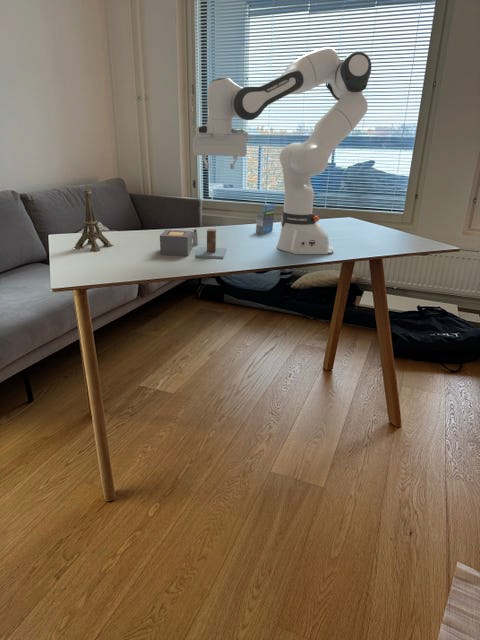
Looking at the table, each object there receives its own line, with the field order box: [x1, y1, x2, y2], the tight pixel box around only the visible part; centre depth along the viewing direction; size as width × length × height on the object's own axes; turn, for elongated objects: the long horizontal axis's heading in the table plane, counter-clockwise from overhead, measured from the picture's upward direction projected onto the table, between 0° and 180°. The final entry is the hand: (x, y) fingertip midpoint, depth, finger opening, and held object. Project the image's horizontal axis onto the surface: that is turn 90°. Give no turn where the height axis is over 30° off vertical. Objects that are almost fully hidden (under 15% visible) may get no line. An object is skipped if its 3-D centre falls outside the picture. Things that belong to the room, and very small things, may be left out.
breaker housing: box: [159, 229, 193, 257], centre depth 158 cm, size 10×10×7 cm
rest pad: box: [195, 246, 227, 259], centre depth 158 cm, size 10×12×1 cm
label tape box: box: [255, 203, 275, 234], centre depth 194 cm, size 9×4×12 cm, turn 144°
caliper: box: [192, 228, 199, 246], centre depth 177 cm, size 20×1×6 cm, turn 22°
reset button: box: [168, 232, 184, 236], centre depth 157 cm, size 5×5×3 cm
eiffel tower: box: [73, 179, 114, 253], centre depth 156 cm, size 11×11×25 cm
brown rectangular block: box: [206, 228, 217, 253], centre depth 157 cm, size 3×3×8 cm
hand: (219, 168), depth 161 cm, fingers open, 8 cm apart
